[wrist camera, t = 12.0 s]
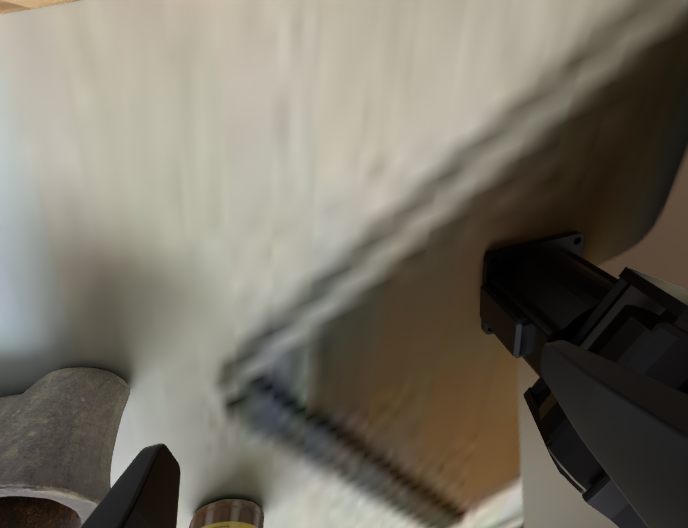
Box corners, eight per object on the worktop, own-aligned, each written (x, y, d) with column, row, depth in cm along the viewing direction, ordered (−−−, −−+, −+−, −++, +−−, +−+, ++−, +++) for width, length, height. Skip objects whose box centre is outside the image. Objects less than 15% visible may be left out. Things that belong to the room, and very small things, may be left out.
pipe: (-102, 381, 20) (-307, 549, 13) (138, 339, 21) (71, 470, 14) (-35, 448, 23) (-172, 614, 16) (172, 408, 24) (130, 544, 17)
